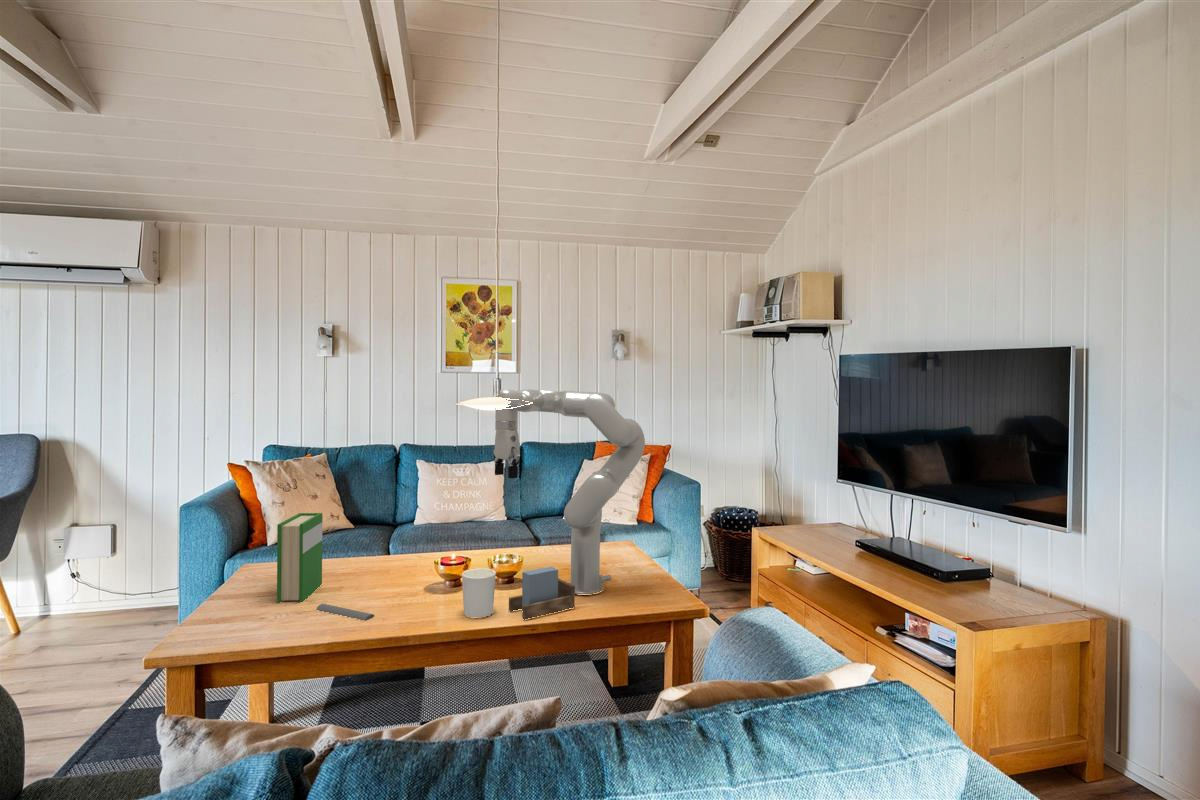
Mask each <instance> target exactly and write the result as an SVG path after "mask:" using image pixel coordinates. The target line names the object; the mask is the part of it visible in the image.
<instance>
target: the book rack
mask: <svg viewBox="0 0 1200 800" xmlns="http://www.w3.org/2000/svg"><path fill="white" fill-rule="evenodd" d="M570 583H571V582H568V581H565V580H563V579H561V578H559V577H558V598H555V599H551V600H546V601H542V602H537V603H533V604H528V605H524V606H523V612H522V611H521V613H522V616H521V617H522V618H523V619H524V620H525V619H528V618H532V617H537V616H541V615H546V614H549V613H554V612H558V611H562V610H565V609H569V608H573V607H574V608H575V597H576V595H575V586H574V585H572V584H570ZM518 609H522V594H521V595H516V596H512V597H508V611H509V610H510V611H513V610H518ZM524 620H523V621H524Z"/></svg>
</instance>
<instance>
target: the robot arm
mask: <svg viewBox="0 0 1200 800" xmlns="http://www.w3.org/2000/svg"><path fill="white" fill-rule="evenodd" d="M499 390H500V397H502V398H510V399H519V400H508V401H511V403H510V404H508V405H511V406H509V407H506V408H511V407H517V406H521V405H524V406H521V407H517V408H513V409H502V410H496V409H495V416H494V417H495V424H494V426H495V427H494V428H495V437H494V449H493V450H492V451H493V452H492V453H493V460H494V476H501V475H502V476H503V475H504V474H505V473H504V472H505V469H504V467H505V463H504V461H507V462H508V465H509V466H507V469H508V470H507V471H508V476H507V478H508V479H517V478H518V470H519V469H518V467H519V463H520V457H521V453H520V452H521V451H520V449H521V448H520V436H519V431H518V430H519V429H518V424H519V422H518V421H519V420H518V416H519V412H521V413H530V412H542V413H555V414H560V415H562V416H564V417H571V418H573V417H574V418H586V419H588V420H589V421H590V422H591V423H592V424H593V425H594V427H596V429H597V430H598V431H599V432H600V433H601V434H602V435H603V437H605V439H607V441H609V442H610V444H612V445H614V446H616V447H617V448H616V449H615V450H614V451H613V453H612V454H611V455H610V456H609V458H608V459H607V460H606V462H605V463H604V464H603V465H602V467H601V468H600V469H599V470H597V471H596V472H594V473H592V474H590V475H589V476H588V477H587V478H586V479H585V480H584V481H583V483H582V484H581V485H580V486H579V488H578V490H577V491H576V492H575V493H574V495H573V496H571V498H570V500H568V502H567V504H566V505H565V507H564V510H563V518H564V521H565V523H566V524H567V525H568V526H569V528H571V537H570V538H571V539H570V541H571V542H570V582H569V583H570V584H572V585H574V586H575V594H593V593H597V592H600V591H602V590H603V589H604V590H605V586H604V585H603V584H604V582H609V581H612V576H611V575H610V574H607V575H606V574H605V575H604V574H600V573H601V572H600V570H601V569H600V568H601V567H600V565H601V563H600V562H601V557H600V556H601V555H600V554H601V525H602V518H603V517H602V516H603V508H604V506H605V505H606V504H607V503H608V502H609V501H610V500H611V499H612V498H614V497H615V496H616V494H617V493H618V491H619V490H620V488H621V487H622V485H623V484H624V483H625V481H626V480H627V479H628V477H629V476H630V475H631V474H632V472H633V471H634V469H635V468H636V466H637V465H638V464H639V462H640V461H641V458H642V456H643V455H644V451H645V447H646V446H645V445H646V441H645V440H646V439H645V435H644V431H643V429H642V427H641V425H640V424H639V423H638V422H637V421H636V420H635V419H632V418H624V417H623V415H621V414H620V413H619V411H618V410H617V408H615V407H616V403H615V400H614V398H613V397H612V395H610V394H608V393H605V392H604V393H603V392H591V391H576V390H562V391H561V390H560V391H557V390H556V391H555V390H542V389H520V390H515V389H499ZM498 397H499V395H498ZM506 400H507V399H506ZM522 400H524V401H522ZM525 401H529V402H525ZM530 402H533V404H530V405H525V404H528V403H530Z"/></svg>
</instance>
